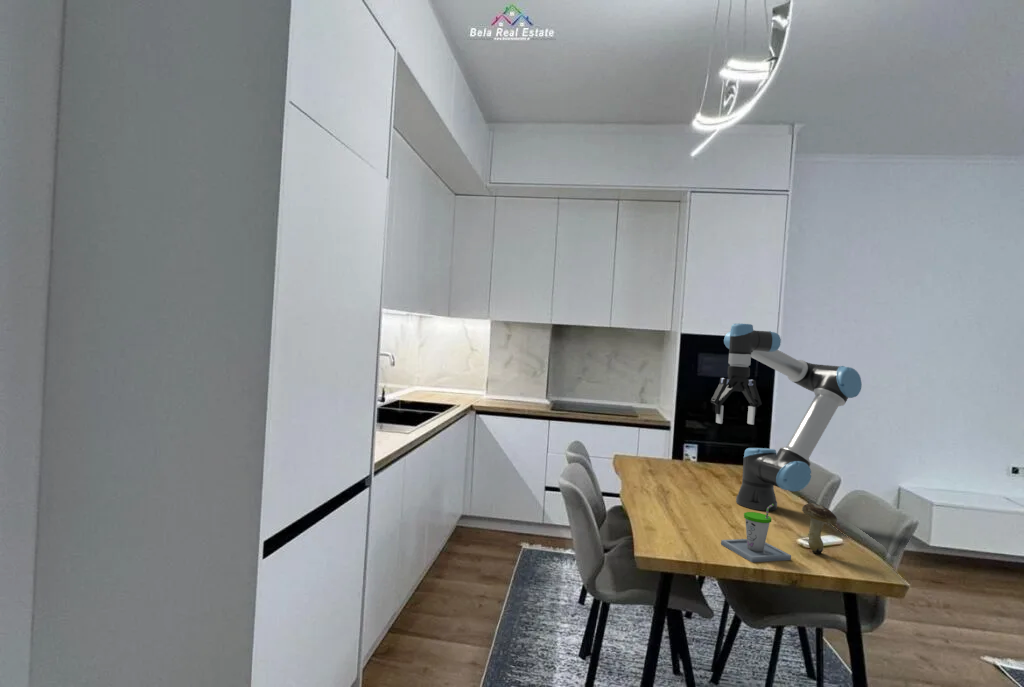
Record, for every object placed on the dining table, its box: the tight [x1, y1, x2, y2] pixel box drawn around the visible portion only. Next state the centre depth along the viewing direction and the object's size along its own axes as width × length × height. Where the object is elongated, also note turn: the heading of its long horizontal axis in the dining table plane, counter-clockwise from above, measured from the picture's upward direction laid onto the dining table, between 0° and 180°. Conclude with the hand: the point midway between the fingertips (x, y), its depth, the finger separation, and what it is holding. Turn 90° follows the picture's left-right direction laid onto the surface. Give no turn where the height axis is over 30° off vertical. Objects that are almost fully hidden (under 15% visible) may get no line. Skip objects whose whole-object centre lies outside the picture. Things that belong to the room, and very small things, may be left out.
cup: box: [743, 504, 774, 552], centre depth 172 cm, size 8×8×15 cm
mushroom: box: [801, 502, 838, 555], centre depth 175 cm, size 9×9×15 cm
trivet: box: [720, 538, 792, 563], centre depth 172 cm, size 14×14×1 cm
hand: (734, 423), depth 205 cm, fingers open, 13 cm apart
